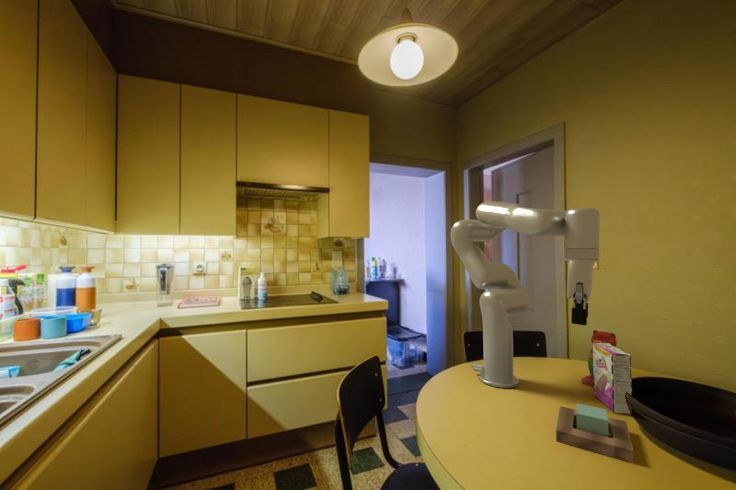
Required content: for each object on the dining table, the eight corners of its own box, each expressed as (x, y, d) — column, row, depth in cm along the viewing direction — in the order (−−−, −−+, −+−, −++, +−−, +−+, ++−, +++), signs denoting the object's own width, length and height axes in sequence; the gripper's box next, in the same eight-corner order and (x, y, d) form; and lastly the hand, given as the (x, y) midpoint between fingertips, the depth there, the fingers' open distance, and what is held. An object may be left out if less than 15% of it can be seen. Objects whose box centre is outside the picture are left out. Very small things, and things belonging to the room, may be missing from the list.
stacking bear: (578, 382, 107) (577, 329, 108) (597, 377, 111) (595, 326, 112) (613, 395, 97) (612, 337, 98) (632, 389, 101) (631, 333, 102)
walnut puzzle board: (556, 440, 74) (556, 430, 74) (560, 415, 86) (559, 406, 86) (633, 463, 66) (633, 451, 66) (626, 431, 78) (626, 421, 78)
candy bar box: (592, 395, 97) (591, 342, 98) (610, 397, 96) (609, 342, 97) (612, 413, 86) (611, 353, 87) (633, 415, 85) (632, 354, 86)
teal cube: (577, 438, 75) (576, 413, 75) (577, 427, 80) (576, 403, 80) (608, 447, 72) (608, 420, 72) (606, 434, 77) (606, 409, 77)
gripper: (567, 253, 92) (565, 312, 92) (561, 256, 78) (560, 325, 78) (598, 254, 88) (597, 316, 88) (598, 257, 74) (597, 330, 74)
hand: (579, 320), depth 83 cm, fingers open, 9 cm apart
